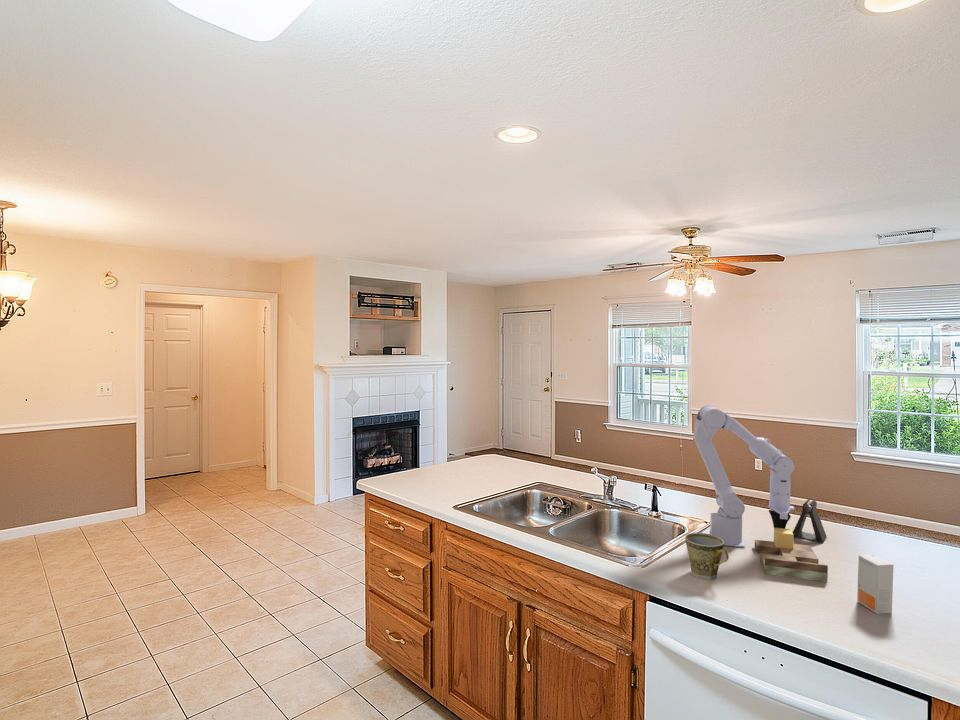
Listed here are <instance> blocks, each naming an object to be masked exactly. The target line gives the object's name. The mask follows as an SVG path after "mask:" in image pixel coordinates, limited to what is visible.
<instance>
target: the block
mask: <svg viewBox="0 0 960 720" xmlns="http://www.w3.org/2000/svg"><path fill="white" fill-rule="evenodd" d="M792 532H793V530H792V529H791V528H790V529H789V528H785V529H783V528H774V527H773V542H774V544H775V546H776V547H778V548H787V549H793V544H794V538H795V537H794V534H793V533H792Z"/></svg>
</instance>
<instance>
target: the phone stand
mask: <svg viewBox="0 0 960 720" xmlns="http://www.w3.org/2000/svg"><path fill="white" fill-rule="evenodd" d="M817 504H818V503H817V501H816V500H815V499H812V500H811V498H809V499H807V500H806V501H805V502H804V503H803V504H802V506H801V507H802V511H801V514H800V516H799V517H798V520H797V522H796V523H795V526H794V529H793V530H792V533H793V534H794V538H796V539H802V540H807V541H812V542H815V543H819V544H823V543H824V542H825V540H826V539H827V537H828V536H827V533H826V531H825V529H824V526H823V523H822V519H821V518H820V515H819V512H818V510H817V506H818V505H817ZM808 515H809V518H810V521H811V525H812V528H813V531H814V533H811V532H810V533H809V532H806V531H803V528H804V526H805V522H806V520H807V517H808Z"/></svg>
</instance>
